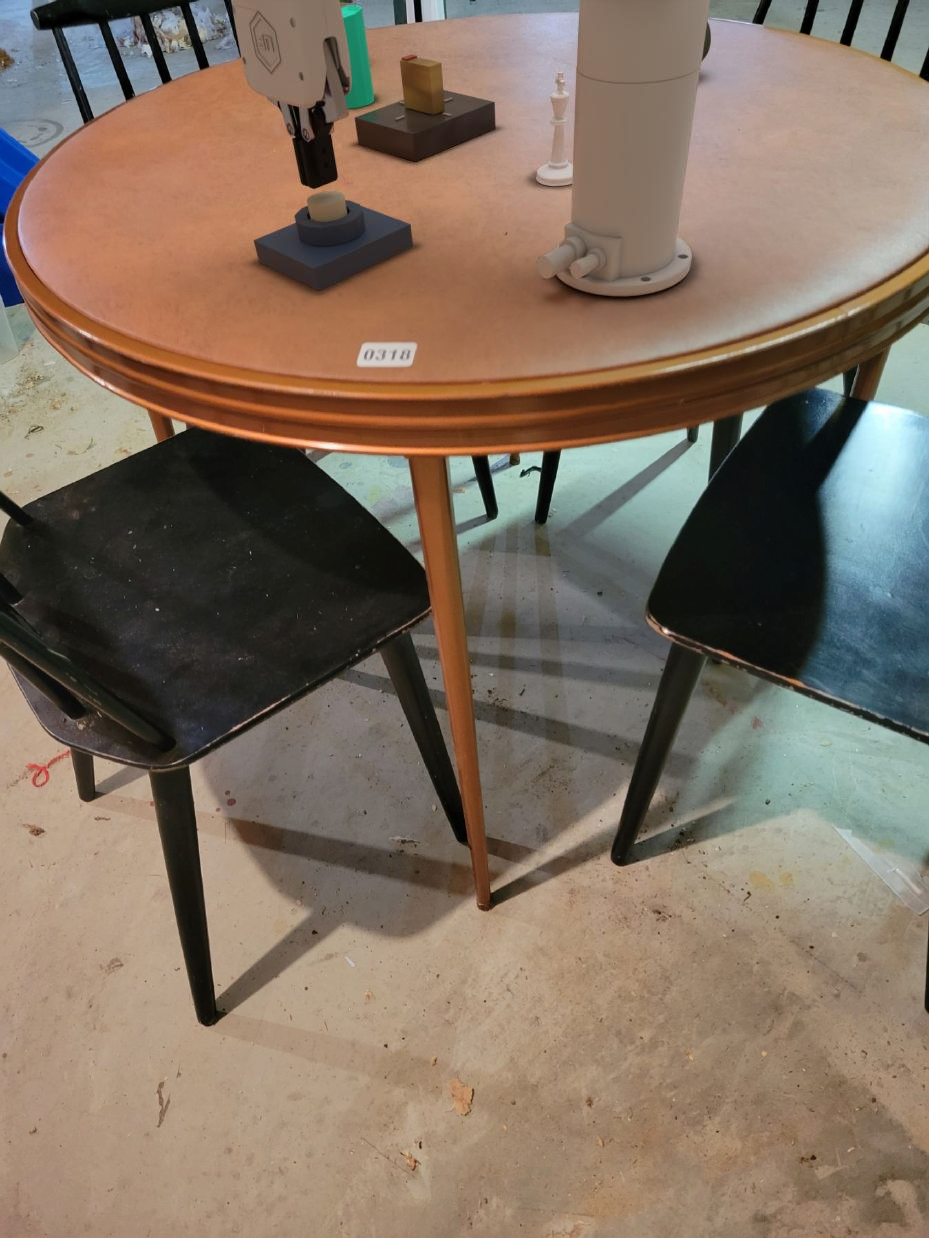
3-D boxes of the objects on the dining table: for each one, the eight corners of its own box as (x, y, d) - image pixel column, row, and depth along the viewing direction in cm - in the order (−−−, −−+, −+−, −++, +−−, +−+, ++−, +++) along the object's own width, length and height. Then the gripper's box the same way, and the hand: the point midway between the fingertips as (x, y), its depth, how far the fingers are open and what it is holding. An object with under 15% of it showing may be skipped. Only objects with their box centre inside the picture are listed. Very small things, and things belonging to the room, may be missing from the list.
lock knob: (445, 110, 96) (441, 60, 92) (433, 115, 95) (429, 64, 91) (416, 103, 98) (411, 53, 94) (404, 107, 98) (399, 58, 94)
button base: (318, 291, 72) (309, 248, 69) (259, 262, 77) (247, 221, 74) (413, 246, 77) (408, 204, 74) (351, 222, 83) (344, 181, 80)
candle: (380, 95, 112) (366, -10, 103) (366, 109, 108) (350, 1, 99) (342, 95, 113) (325, -9, 104) (326, 108, 109) (308, 2, 100)
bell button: (325, 228, 73) (321, 208, 72) (303, 219, 75) (299, 199, 74) (355, 215, 75) (351, 196, 73) (332, 206, 76) (328, 187, 75)
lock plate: (415, 162, 93) (412, 132, 91) (358, 144, 99) (353, 116, 96) (495, 128, 99) (494, 100, 97) (437, 113, 105) (435, 86, 102)
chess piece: (545, 189, 85) (546, 82, 77) (530, 174, 88) (529, 70, 81) (586, 181, 86) (592, 74, 78) (570, 167, 89) (574, 63, 81)
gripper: (179, -76, 61) (242, 177, 75) (290, -62, 53) (337, 216, 67) (258, -91, 64) (304, 154, 78) (372, -80, 57) (402, 189, 70)
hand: (320, 182), depth 72 cm, fingers closed
